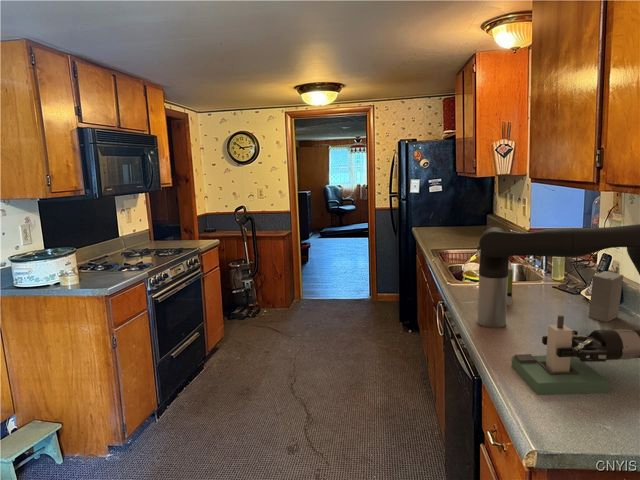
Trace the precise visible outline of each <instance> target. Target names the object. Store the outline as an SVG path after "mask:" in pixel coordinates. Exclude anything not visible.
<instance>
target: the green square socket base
mask: <svg viewBox="0 0 640 480" xmlns="http://www.w3.org/2000/svg"><path fill="white" fill-rule="evenodd" d="M511 368H512V369H513V370H514V371H515V372H516V373H517V374H518V375H519V376H520V378H522V380H523V379H524V380H523V381H524V382H525V383H526V384H527V385H528V386H529V387H530V389H532V390H533V392H534V393H535V394H536V395H541V396H543V395H571V394H573V395H575V394H576V395H577V394H606V393H607V394H608V392H609V383H610V380H608V379H606V378H605V377H604V376H602V375H601V374H600V373H599V372H597V371H596V370H595V369H594V368H592V367H591V366H590V365H589V364H588V363H587V362H582V361H580V358H578V359H577V358H574V357H570V371H569V372H551V371H550V370H549V369H548V368H547V367H546V355H532V354H531V353H529V354H526V353H525V354H524V353H522V354H520V353H519V354H514V355H512V357H511Z"/></svg>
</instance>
